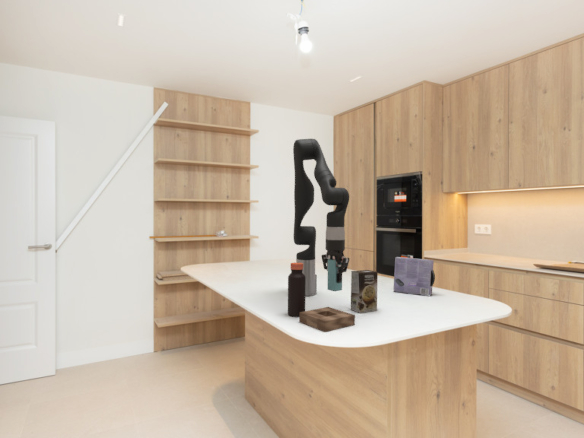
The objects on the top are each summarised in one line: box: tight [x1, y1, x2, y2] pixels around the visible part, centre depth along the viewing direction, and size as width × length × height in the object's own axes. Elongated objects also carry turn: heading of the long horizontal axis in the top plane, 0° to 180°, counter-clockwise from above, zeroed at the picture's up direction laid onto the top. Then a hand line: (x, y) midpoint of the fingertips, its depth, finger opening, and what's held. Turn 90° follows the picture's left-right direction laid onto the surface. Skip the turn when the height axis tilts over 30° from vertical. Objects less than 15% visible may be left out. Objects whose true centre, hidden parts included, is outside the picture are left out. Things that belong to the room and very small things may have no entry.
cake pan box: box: [393, 256, 436, 296], centre depth 187 cm, size 19×5×18 cm, turn 58°
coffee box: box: [350, 269, 379, 314], centre depth 153 cm, size 9×6×16 cm
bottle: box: [287, 262, 306, 318], centre depth 146 cm, size 7×7×20 cm
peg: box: [327, 259, 343, 292], centre depth 147 cm, size 4×4×12 cm
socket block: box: [298, 306, 356, 333], centre depth 134 cm, size 14×14×4 cm
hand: (334, 281), depth 148 cm, fingers closed on peg, 4 cm apart
